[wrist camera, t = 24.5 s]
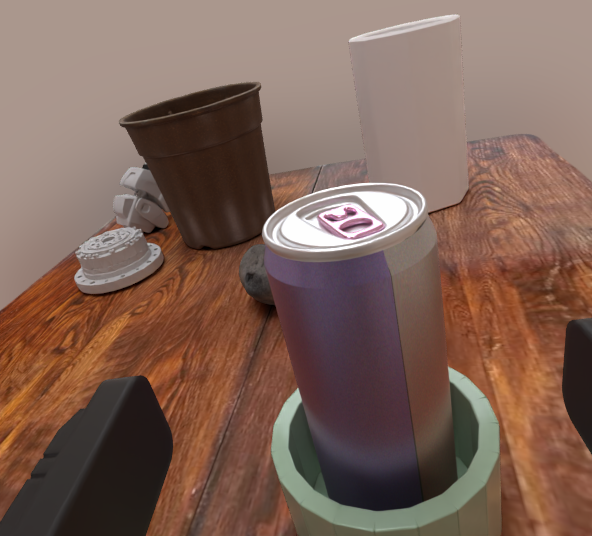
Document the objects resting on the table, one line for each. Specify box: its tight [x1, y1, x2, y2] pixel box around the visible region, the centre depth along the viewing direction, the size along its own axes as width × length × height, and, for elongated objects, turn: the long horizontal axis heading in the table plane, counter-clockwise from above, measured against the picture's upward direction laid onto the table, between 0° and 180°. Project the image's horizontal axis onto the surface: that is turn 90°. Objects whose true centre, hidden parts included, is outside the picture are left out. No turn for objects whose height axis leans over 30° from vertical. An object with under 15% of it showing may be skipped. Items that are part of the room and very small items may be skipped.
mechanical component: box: [75, 227, 164, 294], centre depth 55 cm, size 10×4×10 cm
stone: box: [239, 244, 275, 305], centre depth 44 cm, size 10×5×8 cm
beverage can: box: [262, 183, 458, 511], centre depth 19 cm, size 6×6×15 cm
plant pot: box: [119, 82, 275, 249], centre depth 57 cm, size 16×16×16 cm
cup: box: [348, 14, 469, 213], centre depth 53 cm, size 11×11×18 cm
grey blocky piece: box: [113, 163, 170, 233], centre depth 67 cm, size 6×7×10 cm
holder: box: [271, 366, 502, 536], centre depth 22 cm, size 10×10×6 cm
